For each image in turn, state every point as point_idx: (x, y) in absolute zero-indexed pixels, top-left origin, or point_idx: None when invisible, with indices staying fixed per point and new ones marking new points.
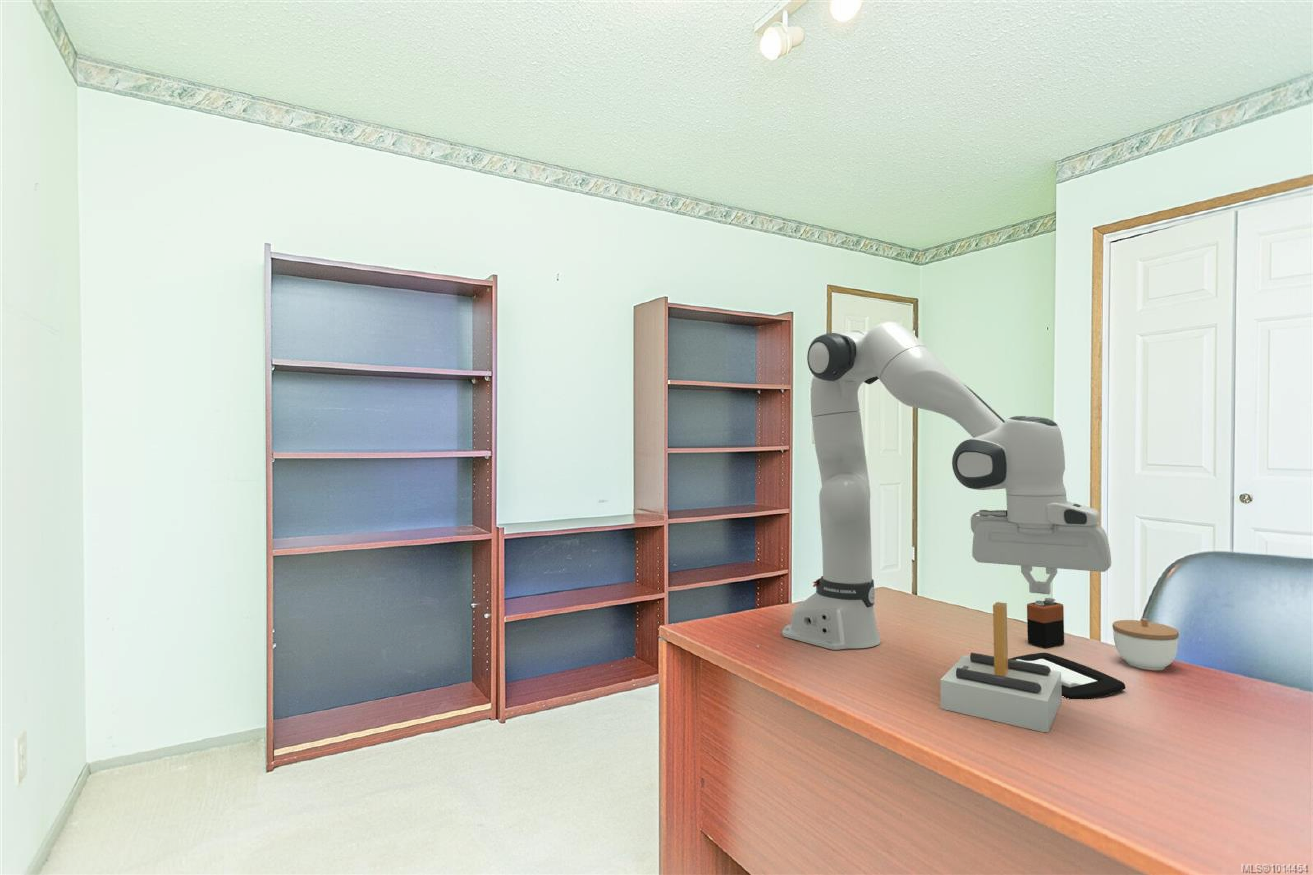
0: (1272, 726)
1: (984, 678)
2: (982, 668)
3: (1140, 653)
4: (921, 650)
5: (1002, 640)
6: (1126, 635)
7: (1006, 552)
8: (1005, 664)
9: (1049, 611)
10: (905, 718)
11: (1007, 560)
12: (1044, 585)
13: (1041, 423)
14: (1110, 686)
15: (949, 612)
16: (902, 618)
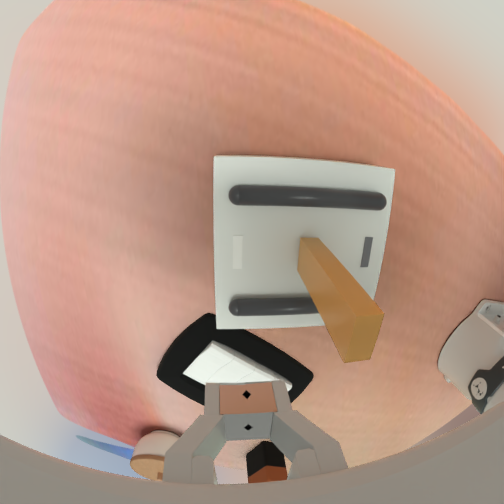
0: (40, 336)
1: (332, 189)
2: None
3: (160, 441)
4: (398, 367)
5: (325, 267)
6: None
7: (445, 494)
8: (304, 255)
9: (262, 480)
10: (401, 104)
11: (425, 461)
12: (223, 408)
13: None
14: (167, 362)
15: (357, 463)
16: (404, 429)
